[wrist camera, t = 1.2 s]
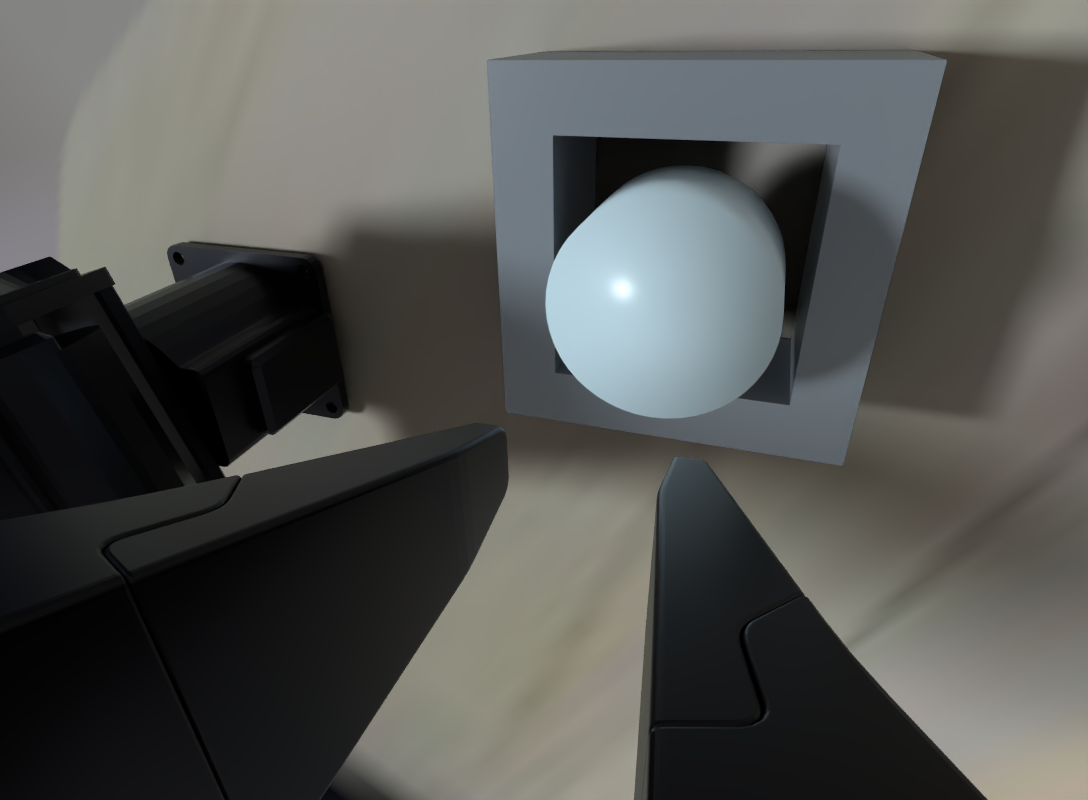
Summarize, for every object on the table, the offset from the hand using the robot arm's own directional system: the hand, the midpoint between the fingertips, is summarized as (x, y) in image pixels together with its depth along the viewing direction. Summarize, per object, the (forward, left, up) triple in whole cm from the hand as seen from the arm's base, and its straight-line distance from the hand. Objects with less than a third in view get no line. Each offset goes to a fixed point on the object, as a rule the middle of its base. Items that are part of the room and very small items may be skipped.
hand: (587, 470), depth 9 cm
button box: (0, 0, -12) cm, 12 cm away
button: (0, 0, -8) cm, 8 cm away
